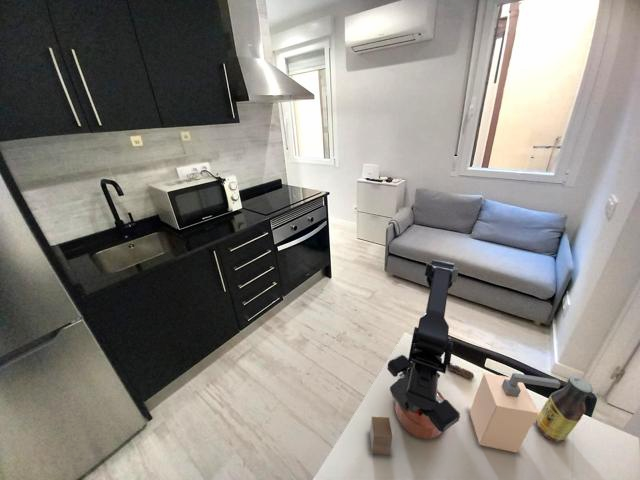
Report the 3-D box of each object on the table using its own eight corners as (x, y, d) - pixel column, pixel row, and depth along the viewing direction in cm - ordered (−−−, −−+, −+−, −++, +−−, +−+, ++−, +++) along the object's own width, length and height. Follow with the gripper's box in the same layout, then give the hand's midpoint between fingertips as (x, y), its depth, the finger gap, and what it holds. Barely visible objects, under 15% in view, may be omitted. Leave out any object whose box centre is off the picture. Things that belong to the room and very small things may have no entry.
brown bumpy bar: (444, 368, 85) (446, 361, 85) (445, 366, 87) (447, 360, 87) (472, 381, 81) (474, 374, 81) (472, 379, 83) (474, 372, 83)
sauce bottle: (533, 413, 72) (559, 365, 64) (561, 425, 69) (594, 376, 61) (536, 436, 67) (565, 386, 59) (567, 450, 64) (603, 400, 56)
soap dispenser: (479, 445, 66) (503, 389, 56) (469, 411, 73) (489, 357, 64) (536, 456, 63) (571, 400, 54) (519, 420, 71) (548, 365, 61)
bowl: (391, 389, 80) (393, 379, 77) (435, 391, 79) (438, 380, 77) (400, 437, 68) (403, 426, 66) (452, 440, 67) (456, 429, 65)
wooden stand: (369, 434, 69) (371, 416, 65) (386, 435, 68) (389, 417, 65) (371, 453, 65) (373, 435, 61) (389, 455, 64) (392, 436, 61)
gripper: (373, 353, 66) (369, 392, 73) (430, 422, 51) (419, 463, 58) (406, 337, 71) (400, 376, 77) (468, 397, 56) (453, 438, 62)
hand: (415, 408), depth 69 cm, fingers closed on tomato, 3 cm apart
